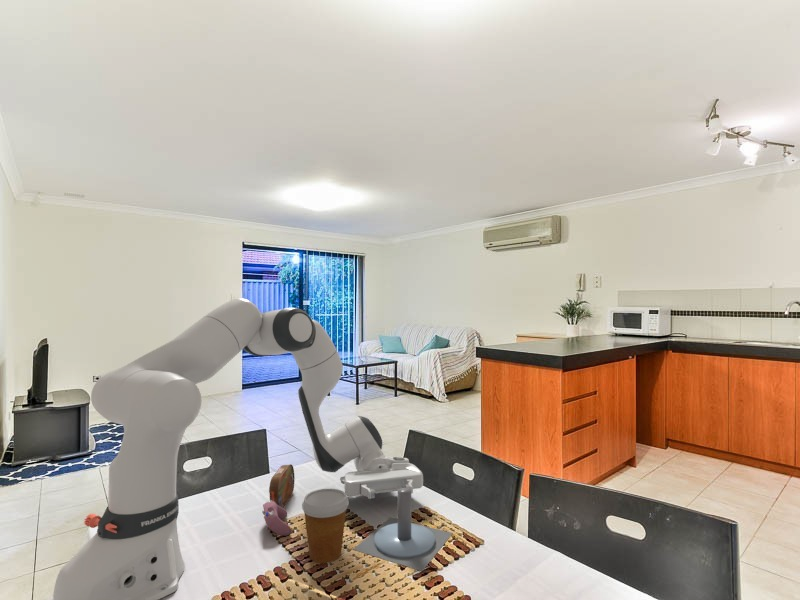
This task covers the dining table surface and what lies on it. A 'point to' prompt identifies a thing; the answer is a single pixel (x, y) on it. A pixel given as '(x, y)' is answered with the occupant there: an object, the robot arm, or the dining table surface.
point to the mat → (415, 562)
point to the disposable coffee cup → (325, 523)
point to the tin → (282, 485)
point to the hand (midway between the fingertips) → (391, 493)
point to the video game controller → (276, 518)
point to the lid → (404, 533)
